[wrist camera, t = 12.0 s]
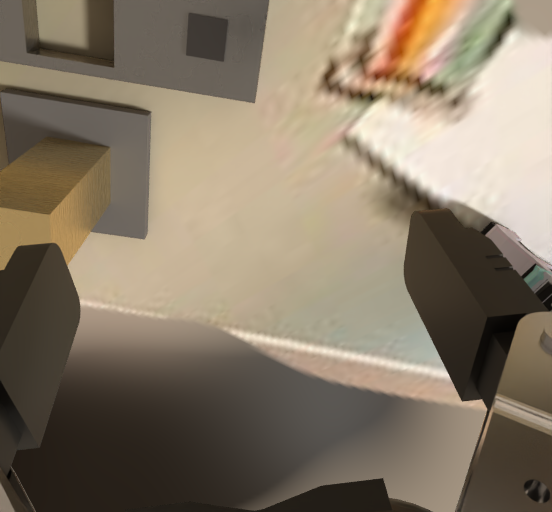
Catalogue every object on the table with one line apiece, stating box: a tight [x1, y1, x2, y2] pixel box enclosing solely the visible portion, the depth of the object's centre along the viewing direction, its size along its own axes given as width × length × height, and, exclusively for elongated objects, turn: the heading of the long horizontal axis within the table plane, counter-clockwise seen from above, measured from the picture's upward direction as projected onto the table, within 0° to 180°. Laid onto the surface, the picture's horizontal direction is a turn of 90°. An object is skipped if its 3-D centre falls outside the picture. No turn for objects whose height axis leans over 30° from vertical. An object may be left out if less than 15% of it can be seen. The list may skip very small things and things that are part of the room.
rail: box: [0, 0, 269, 103], centre depth 31 cm, size 24×7×2 cm, turn 81°
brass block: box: [0, 136, 111, 270], centre depth 31 cm, size 4×4×11 cm
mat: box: [0, 89, 151, 239], centre depth 37 cm, size 10×10×1 cm
